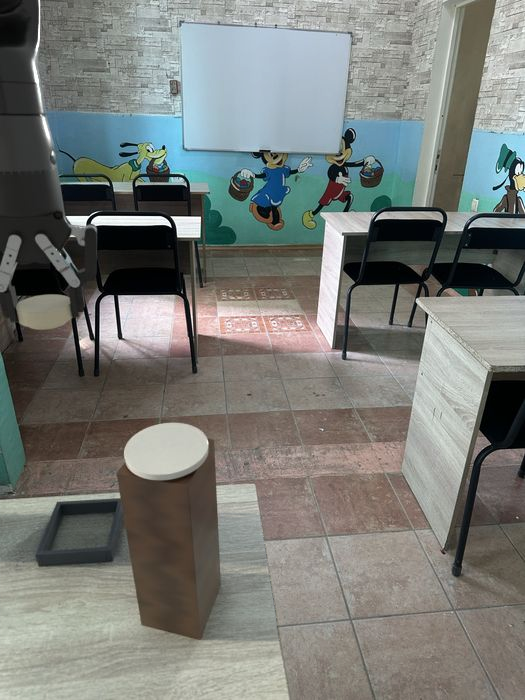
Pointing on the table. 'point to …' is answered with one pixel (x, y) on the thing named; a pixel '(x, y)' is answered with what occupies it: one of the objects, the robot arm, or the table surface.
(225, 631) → the table surface
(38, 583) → the table surface
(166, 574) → the riser box
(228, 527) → the table surface
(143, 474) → the bottom plate
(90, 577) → the table surface
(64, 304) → the top plate
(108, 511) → the bin
